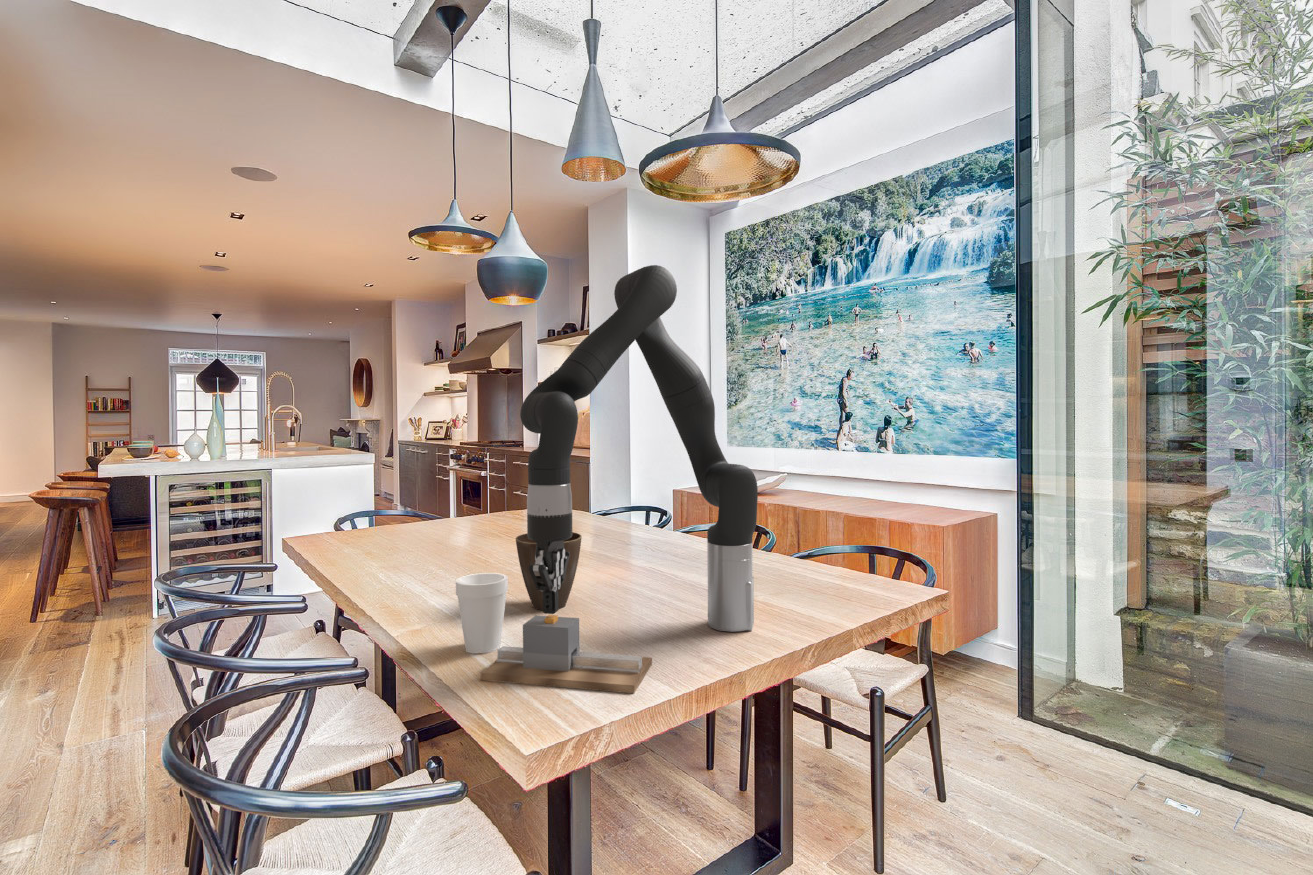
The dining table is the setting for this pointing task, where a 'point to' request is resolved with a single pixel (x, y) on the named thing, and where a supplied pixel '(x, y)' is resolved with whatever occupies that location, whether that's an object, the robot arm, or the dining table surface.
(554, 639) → the block
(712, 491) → the robot arm
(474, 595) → the foam cup
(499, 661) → the rail
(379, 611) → the dining table surface
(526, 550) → the plant pot
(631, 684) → the board
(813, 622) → the dining table surface
